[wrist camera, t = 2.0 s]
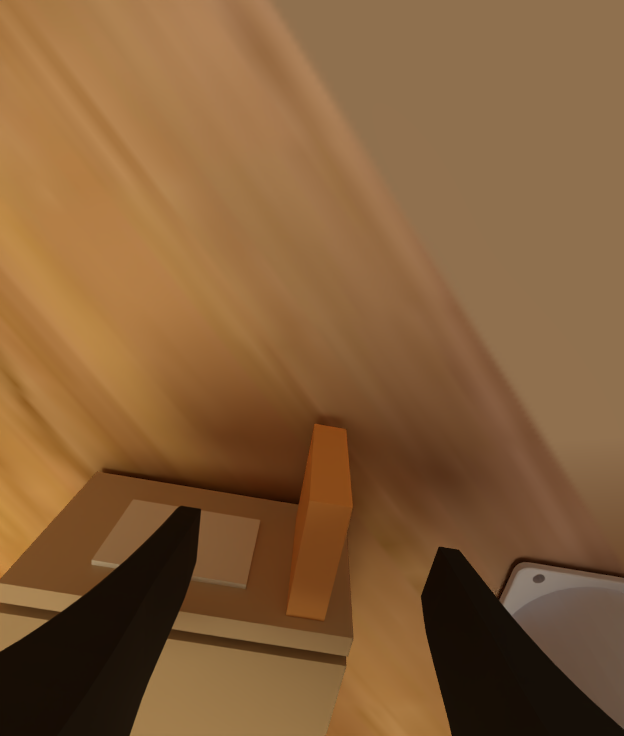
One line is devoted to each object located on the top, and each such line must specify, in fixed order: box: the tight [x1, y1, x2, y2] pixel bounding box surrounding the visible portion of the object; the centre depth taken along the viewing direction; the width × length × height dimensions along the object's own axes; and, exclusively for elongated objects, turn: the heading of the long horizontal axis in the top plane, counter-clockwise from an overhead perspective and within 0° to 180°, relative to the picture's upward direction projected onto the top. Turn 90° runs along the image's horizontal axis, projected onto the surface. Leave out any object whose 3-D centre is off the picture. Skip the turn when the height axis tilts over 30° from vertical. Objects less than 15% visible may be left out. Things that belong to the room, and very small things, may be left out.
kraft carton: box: [0, 602, 346, 736], centre depth 18 cm, size 11×16×6 cm
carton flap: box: [0, 424, 353, 656], centre depth 14 cm, size 11×5×6 cm, turn 80°
